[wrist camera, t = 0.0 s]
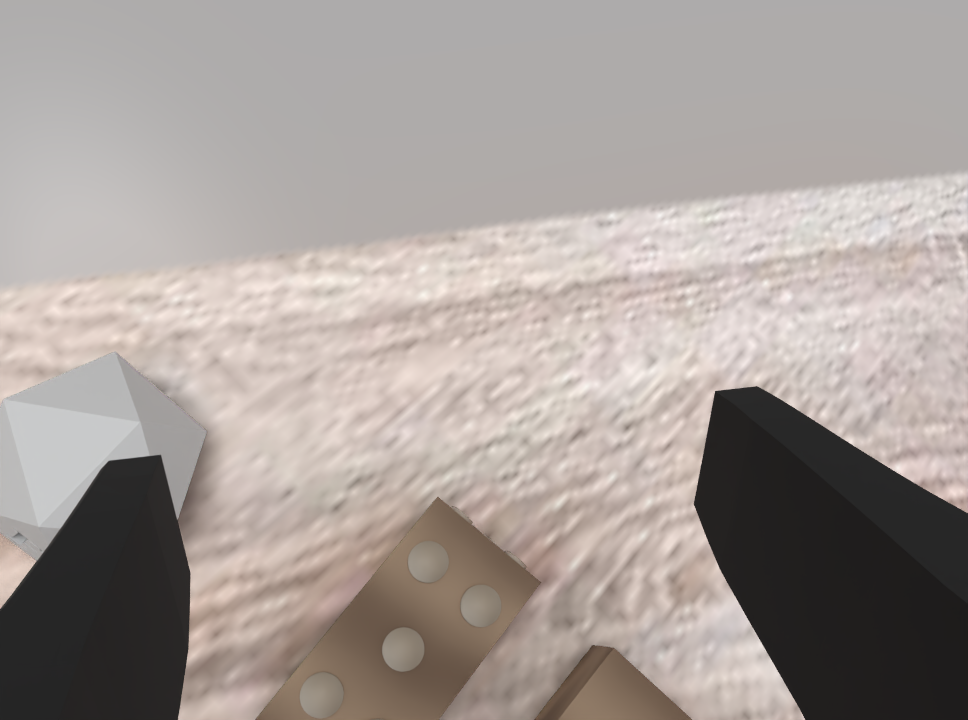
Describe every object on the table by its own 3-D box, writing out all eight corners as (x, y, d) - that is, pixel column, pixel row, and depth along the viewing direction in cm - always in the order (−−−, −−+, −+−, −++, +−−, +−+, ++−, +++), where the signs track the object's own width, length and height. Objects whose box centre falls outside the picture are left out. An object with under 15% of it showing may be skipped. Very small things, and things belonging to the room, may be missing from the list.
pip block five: (363, 799, 40) (365, 819, 36) (262, 711, 40) (253, 722, 36) (527, 581, 44) (545, 577, 40) (433, 503, 44) (441, 491, 40)
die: (1, 416, 43) (-129, 526, 33) (121, 294, 41) (19, 375, 31) (140, 527, 45) (55, 660, 36) (259, 417, 43) (203, 526, 34)
